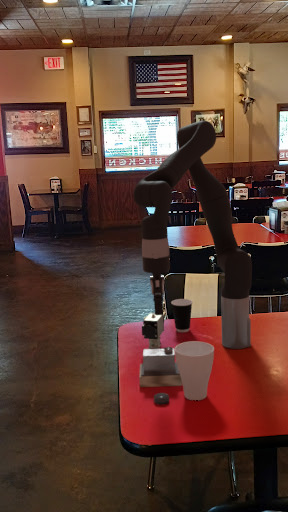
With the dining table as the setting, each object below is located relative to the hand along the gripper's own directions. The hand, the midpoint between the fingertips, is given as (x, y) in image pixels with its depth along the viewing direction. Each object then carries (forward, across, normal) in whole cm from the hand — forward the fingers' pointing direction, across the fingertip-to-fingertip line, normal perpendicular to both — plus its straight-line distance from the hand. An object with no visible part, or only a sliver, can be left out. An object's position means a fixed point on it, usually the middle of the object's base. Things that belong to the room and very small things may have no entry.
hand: (158, 310), depth 138 cm
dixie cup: (+22, -41, +9) cm, 47 cm away
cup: (+22, +10, +9) cm, 25 cm away
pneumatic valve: (+21, -25, -2) cm, 33 cm away
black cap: (+21, +13, 0) cm, 25 cm away
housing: (+18, 0, -1) cm, 18 cm away
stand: (+21, 0, 0) cm, 21 cm away
